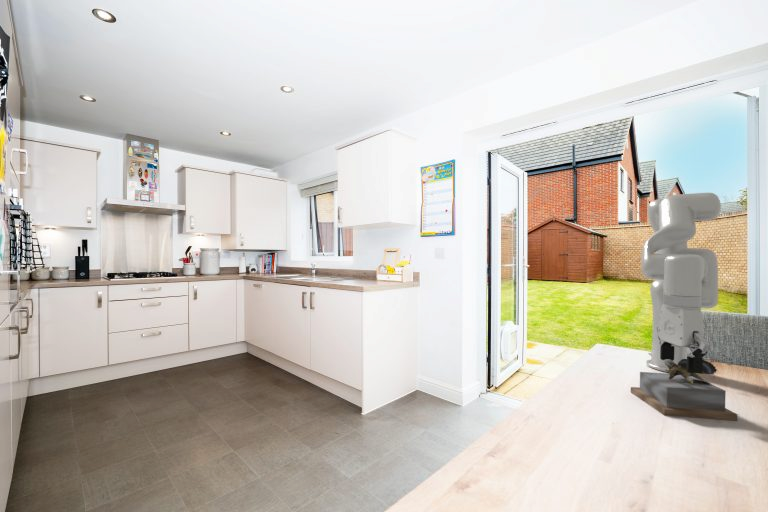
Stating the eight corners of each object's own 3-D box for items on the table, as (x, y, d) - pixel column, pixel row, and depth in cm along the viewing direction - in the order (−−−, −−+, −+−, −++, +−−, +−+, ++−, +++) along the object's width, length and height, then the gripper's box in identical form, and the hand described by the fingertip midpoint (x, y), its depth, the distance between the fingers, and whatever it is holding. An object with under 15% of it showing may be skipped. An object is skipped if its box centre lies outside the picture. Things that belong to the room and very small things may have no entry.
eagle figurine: (683, 383, 84) (724, 379, 83) (668, 354, 88) (707, 350, 87) (669, 389, 90) (707, 386, 89) (656, 362, 94) (692, 359, 93)
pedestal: (630, 392, 97) (631, 369, 97) (692, 396, 95) (692, 373, 95) (664, 415, 83) (664, 389, 83) (737, 420, 81) (738, 393, 81)
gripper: (645, 296, 98) (643, 355, 98) (691, 306, 81) (689, 377, 81) (673, 297, 97) (672, 356, 97) (726, 307, 80) (724, 379, 80)
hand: (680, 366), depth 89 cm, fingers open, 9 cm apart
